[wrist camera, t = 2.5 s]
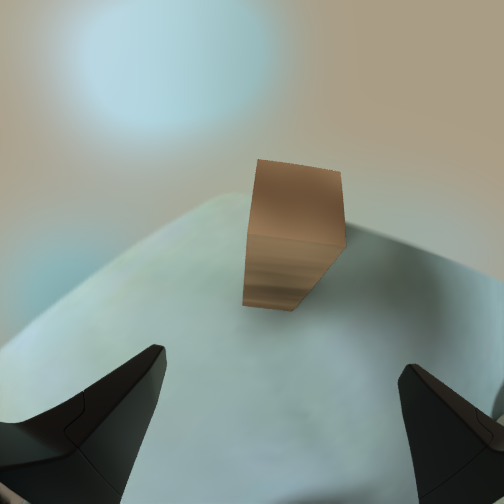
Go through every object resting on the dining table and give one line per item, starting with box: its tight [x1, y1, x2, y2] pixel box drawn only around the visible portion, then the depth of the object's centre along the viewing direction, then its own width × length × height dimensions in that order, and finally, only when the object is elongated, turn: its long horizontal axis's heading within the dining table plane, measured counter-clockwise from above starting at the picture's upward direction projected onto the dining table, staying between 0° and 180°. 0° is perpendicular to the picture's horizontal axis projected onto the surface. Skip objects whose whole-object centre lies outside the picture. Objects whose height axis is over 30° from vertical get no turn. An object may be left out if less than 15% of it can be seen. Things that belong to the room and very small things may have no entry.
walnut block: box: [242, 159, 346, 311], centre depth 19 cm, size 4×4×13 cm
